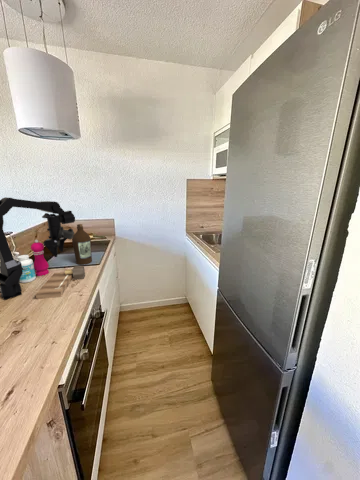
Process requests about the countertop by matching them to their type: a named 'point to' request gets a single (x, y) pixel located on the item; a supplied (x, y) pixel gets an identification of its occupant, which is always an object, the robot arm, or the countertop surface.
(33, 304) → the countertop surface
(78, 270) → the grey and beige block
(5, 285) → the robot arm
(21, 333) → the countertop surface
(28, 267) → the pill bottle
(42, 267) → the pepper mill
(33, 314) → the countertop surface
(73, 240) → the olive oil
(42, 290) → the plank
